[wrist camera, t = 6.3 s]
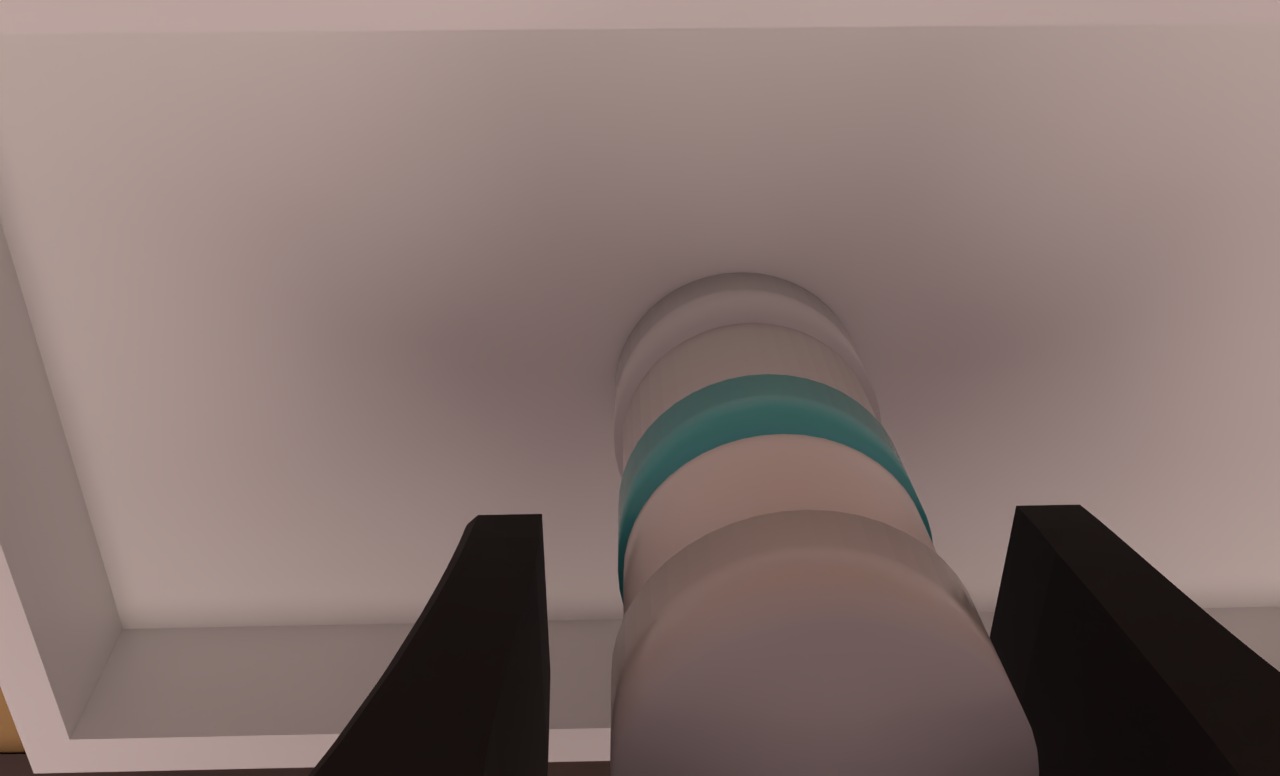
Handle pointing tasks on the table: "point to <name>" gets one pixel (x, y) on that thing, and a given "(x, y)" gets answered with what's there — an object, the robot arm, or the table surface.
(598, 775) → the holder
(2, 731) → the table surface
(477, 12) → the tray
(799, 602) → the marked cartridge
